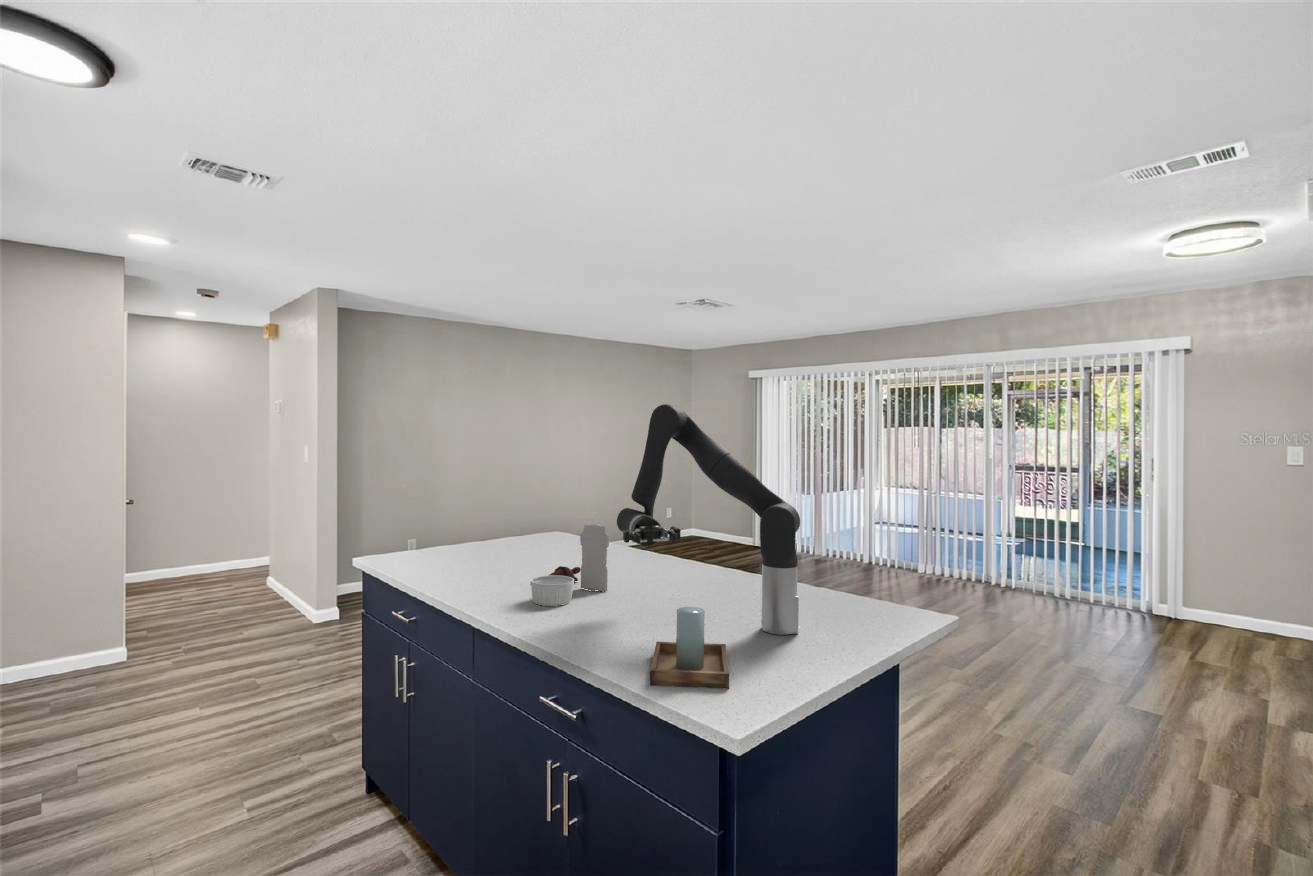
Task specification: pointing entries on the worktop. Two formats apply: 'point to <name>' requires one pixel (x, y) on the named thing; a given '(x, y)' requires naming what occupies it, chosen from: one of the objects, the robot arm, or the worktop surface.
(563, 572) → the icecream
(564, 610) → the worktop surface
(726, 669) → the tray
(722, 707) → the worktop surface
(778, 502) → the robot arm
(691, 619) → the pale blue cylinder
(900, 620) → the worktop surface
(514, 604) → the worktop surface
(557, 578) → the ramekin
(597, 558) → the tall pale column
